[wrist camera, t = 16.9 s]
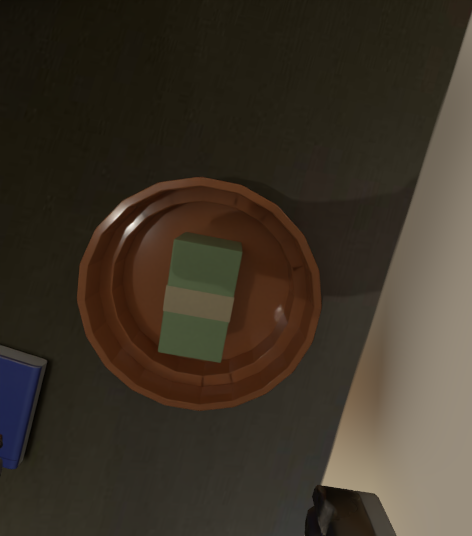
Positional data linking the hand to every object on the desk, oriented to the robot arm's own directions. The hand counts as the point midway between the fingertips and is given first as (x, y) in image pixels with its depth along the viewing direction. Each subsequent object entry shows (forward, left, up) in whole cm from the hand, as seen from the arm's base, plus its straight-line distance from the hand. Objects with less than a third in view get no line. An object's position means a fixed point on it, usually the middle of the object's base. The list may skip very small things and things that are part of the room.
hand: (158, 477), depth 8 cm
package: (+1, +1, -20) cm, 20 cm away
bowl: (+1, +1, -21) cm, 21 cm away
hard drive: (+20, +17, -21) cm, 33 cm away
